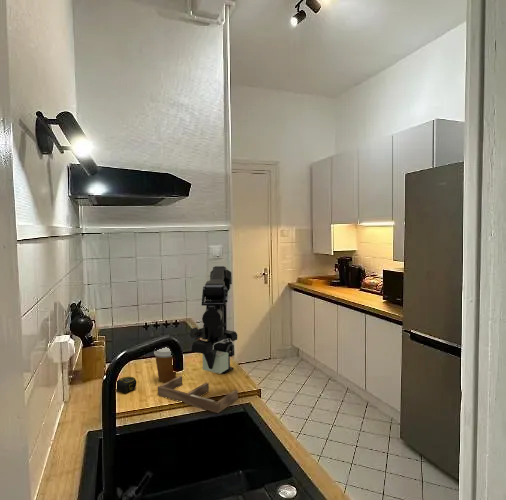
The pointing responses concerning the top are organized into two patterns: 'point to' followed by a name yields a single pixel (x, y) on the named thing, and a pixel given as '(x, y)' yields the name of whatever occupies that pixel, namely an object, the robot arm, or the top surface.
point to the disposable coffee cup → (164, 365)
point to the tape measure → (126, 384)
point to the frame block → (217, 363)
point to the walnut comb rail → (196, 396)
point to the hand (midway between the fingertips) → (215, 366)
